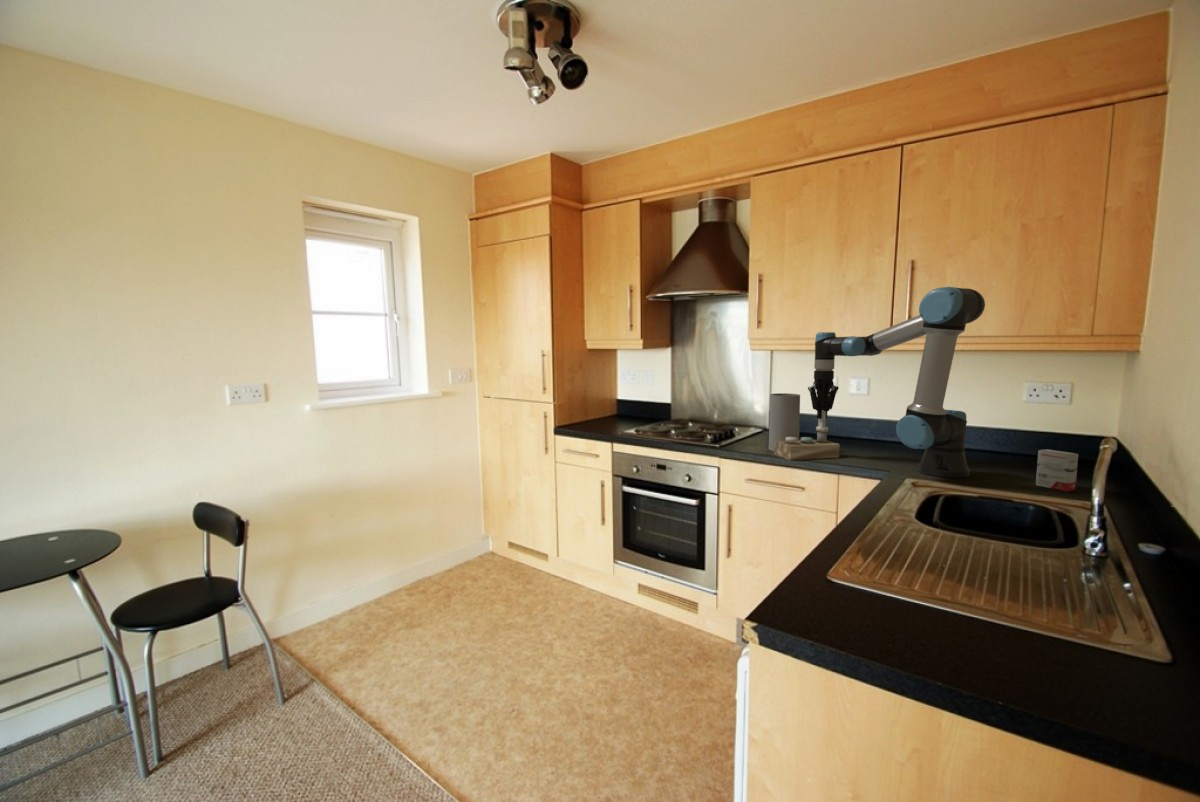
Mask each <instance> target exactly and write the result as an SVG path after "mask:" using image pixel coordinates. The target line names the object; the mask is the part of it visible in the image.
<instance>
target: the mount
mask: <svg viewBox="0 0 1200 802" xmlns="http://www.w3.org/2000/svg"><path fill="white" fill-rule="evenodd" d="M840 446H841V445H840V443H837V442H833V441H829V440H826V443H817V438H815V439H813V442H811V444H803V443H802V442H801V439H799V440H797V442H796V445H788V444H787V442H786V441H775V451H774V453H773V454H774V455H776V456H777V457H780V458H783V459H786V460H788V461H803V460H818V459H835V458H840V448H841V447H840Z"/></svg>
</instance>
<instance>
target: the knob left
mask: <svg viewBox="0 0 1200 802" xmlns="http://www.w3.org/2000/svg"><path fill="white" fill-rule="evenodd" d="M785 441H786V442H787V444H788V445H796V442H797V438H796V437H786V439H785Z"/></svg>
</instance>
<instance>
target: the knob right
mask: <svg viewBox="0 0 1200 802" xmlns="http://www.w3.org/2000/svg"><path fill="white" fill-rule="evenodd" d="M815 430H816V432H817V433H816V439H817V443H826V441H828V440H827V437H828V436H827V435H828V434H827V433H828V432H829V426H825V427H820V426H818V425H817V426H816V427H815Z"/></svg>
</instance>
